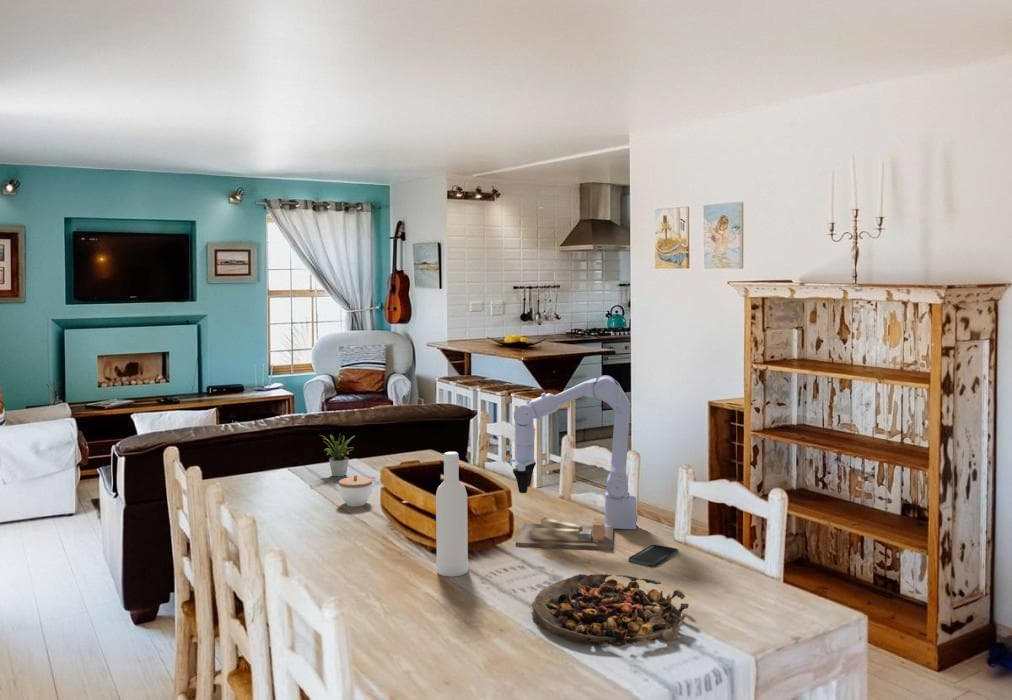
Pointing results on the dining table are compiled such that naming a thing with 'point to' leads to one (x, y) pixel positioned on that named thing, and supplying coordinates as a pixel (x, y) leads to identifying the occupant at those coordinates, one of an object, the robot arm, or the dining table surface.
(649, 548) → the phone
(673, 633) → the food dish
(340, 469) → the house plant
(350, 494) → the lidded jar
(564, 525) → the bar
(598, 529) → the brown rectangular block
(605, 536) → the tongs base
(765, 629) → the dining table surface
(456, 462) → the bottle
